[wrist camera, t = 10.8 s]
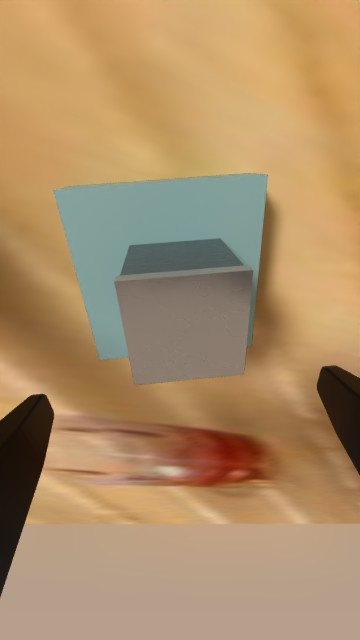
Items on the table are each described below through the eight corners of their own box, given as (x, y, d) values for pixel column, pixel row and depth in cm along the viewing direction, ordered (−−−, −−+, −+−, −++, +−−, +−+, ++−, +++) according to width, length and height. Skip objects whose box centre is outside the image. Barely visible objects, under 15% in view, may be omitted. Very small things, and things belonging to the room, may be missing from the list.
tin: (140, 325, 18) (134, 385, 13) (127, 243, 15) (114, 281, 10) (220, 317, 18) (243, 374, 13) (222, 236, 15) (253, 269, 10)
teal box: (108, 333, 22) (100, 359, 19) (72, 185, 16) (53, 190, 13) (239, 321, 22) (251, 346, 19) (248, 172, 17) (268, 174, 14)
